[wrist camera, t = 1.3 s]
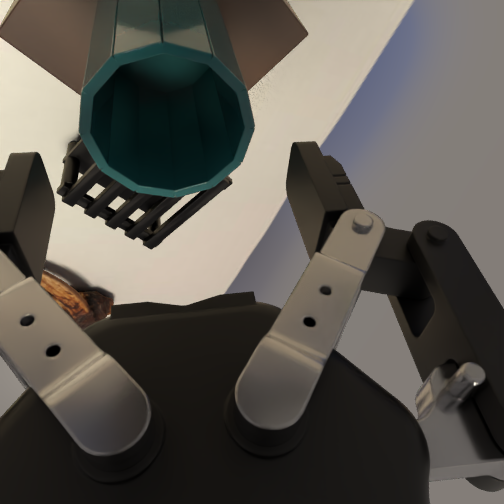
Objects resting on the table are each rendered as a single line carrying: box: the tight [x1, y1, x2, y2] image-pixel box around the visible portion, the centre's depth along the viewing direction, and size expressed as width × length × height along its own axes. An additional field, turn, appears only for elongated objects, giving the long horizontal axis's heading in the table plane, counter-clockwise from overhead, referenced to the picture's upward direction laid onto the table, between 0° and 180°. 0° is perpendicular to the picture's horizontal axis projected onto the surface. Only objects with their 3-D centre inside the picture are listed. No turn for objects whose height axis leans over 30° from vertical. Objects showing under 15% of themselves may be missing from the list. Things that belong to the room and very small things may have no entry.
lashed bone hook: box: [40, 270, 114, 330], centre depth 49 cm, size 9×5×18 cm
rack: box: [57, 139, 232, 249], centre depth 38 cm, size 10×10×7 cm
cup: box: [79, 0, 255, 198], centre depth 19 cm, size 6×6×9 cm
